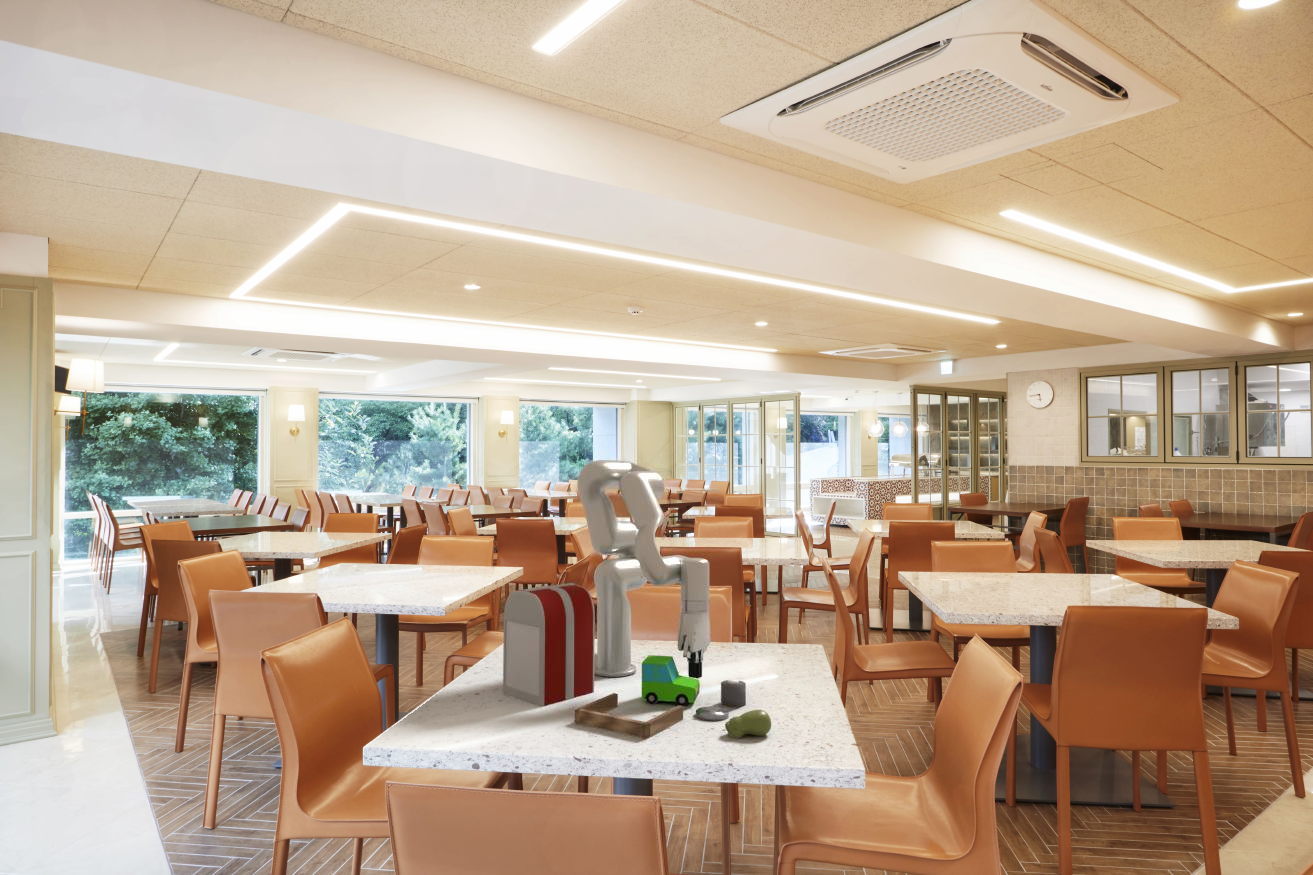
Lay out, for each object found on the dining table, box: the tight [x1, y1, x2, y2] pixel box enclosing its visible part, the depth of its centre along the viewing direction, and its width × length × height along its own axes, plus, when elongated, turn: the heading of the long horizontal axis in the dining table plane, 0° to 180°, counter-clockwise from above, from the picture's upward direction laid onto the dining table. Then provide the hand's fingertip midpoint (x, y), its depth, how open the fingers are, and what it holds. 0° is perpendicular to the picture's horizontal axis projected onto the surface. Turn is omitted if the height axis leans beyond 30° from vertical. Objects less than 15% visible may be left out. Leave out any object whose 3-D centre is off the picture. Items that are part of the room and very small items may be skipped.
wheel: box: [720, 678, 747, 709], centre depth 188 cm, size 6×6×6 cm
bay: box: [574, 692, 684, 740], centre depth 174 cm, size 19×15×3 cm
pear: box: [724, 709, 772, 739], centre depth 165 cm, size 6×5×10 cm
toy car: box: [641, 654, 701, 708], centre depth 190 cm, size 10×13×10 cm
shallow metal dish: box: [695, 705, 730, 722], centre depth 178 cm, size 8×8×1 cm
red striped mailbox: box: [502, 582, 596, 708], centre depth 197 cm, size 16×18×27 cm
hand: (695, 676), depth 200 cm, fingers closed
